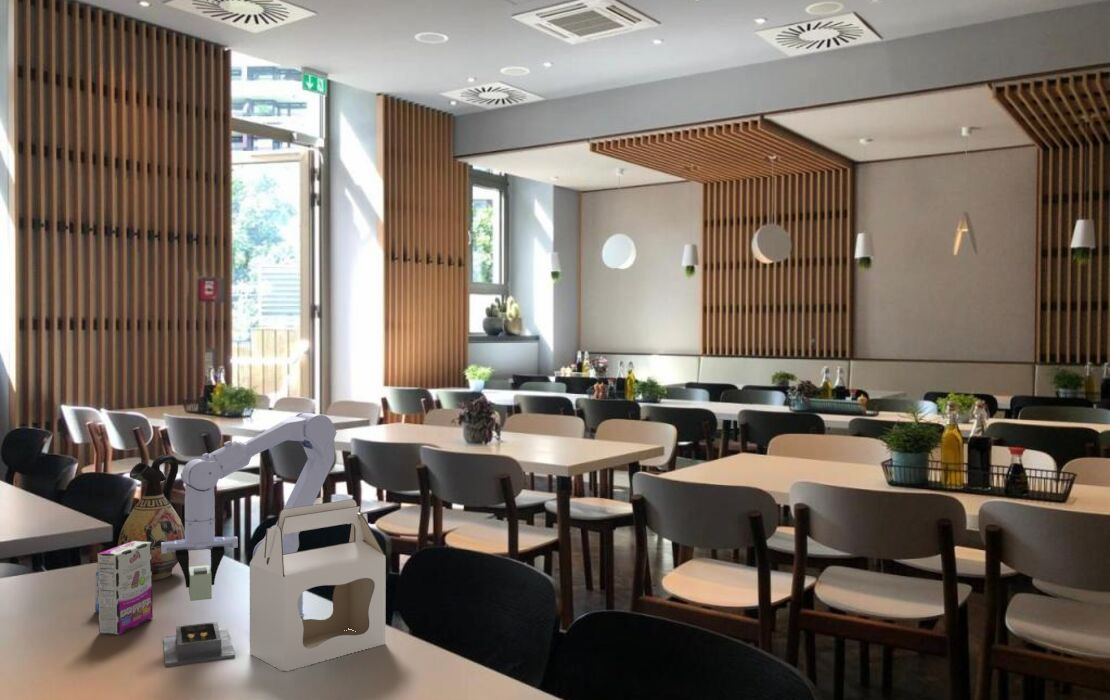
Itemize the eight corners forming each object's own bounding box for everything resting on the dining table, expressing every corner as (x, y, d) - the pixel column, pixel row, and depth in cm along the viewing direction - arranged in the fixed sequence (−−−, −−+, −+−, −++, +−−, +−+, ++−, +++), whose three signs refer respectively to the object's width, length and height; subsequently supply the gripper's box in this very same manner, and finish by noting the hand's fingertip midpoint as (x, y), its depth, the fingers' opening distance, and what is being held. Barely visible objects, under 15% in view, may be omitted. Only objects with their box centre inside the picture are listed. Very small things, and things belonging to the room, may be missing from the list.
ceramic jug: (142, 588, 220) (142, 461, 220) (104, 578, 229) (104, 456, 228) (204, 573, 234) (204, 453, 234) (167, 564, 243) (166, 449, 242)
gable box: (282, 673, 167) (282, 517, 166) (248, 654, 176) (247, 506, 176) (387, 644, 183) (387, 501, 182) (350, 628, 192) (350, 492, 191)
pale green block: (209, 588, 196) (209, 562, 196) (211, 598, 188) (211, 571, 188) (188, 590, 194) (188, 564, 194) (190, 600, 187) (190, 573, 187)
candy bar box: (132, 617, 198) (131, 540, 198) (153, 618, 197) (153, 541, 197) (96, 634, 188) (96, 552, 187) (118, 635, 187) (118, 554, 186)
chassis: (227, 632, 189) (227, 617, 189) (234, 657, 174) (234, 641, 174) (163, 639, 184) (163, 624, 184) (165, 666, 170) (165, 650, 170)
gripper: (161, 525, 184) (161, 593, 185) (239, 519, 190) (239, 586, 190) (161, 518, 191) (161, 584, 191) (236, 513, 197) (236, 577, 197)
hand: (199, 585), depth 191 cm, fingers closed on pale green block, 4 cm apart
